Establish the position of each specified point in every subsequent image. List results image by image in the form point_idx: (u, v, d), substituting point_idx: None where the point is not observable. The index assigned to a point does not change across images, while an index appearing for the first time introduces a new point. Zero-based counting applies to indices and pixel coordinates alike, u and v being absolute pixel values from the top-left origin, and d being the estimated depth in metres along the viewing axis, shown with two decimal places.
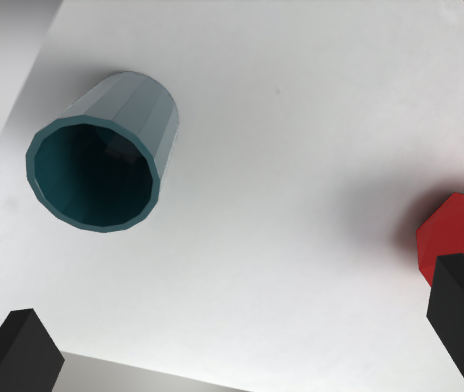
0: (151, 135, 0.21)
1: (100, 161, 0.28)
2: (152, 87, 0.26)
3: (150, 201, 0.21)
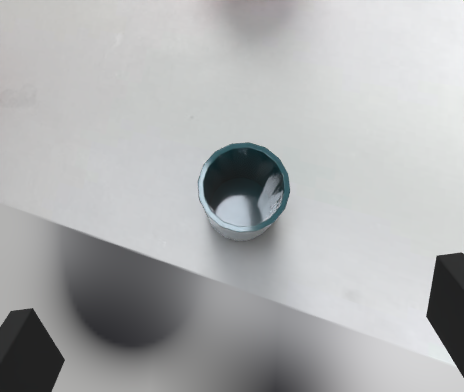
0: None
1: (270, 216, 0.36)
2: None
3: (249, 146, 0.29)
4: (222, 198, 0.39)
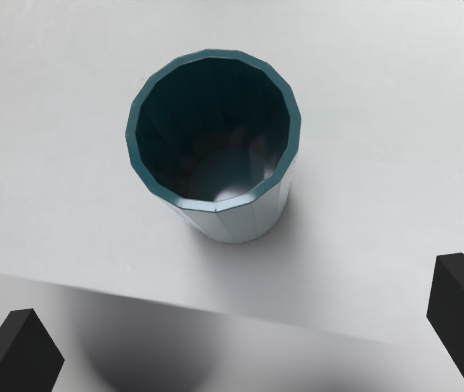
0: None
1: None
2: None
3: (210, 55, 0.16)
4: (203, 183, 0.25)
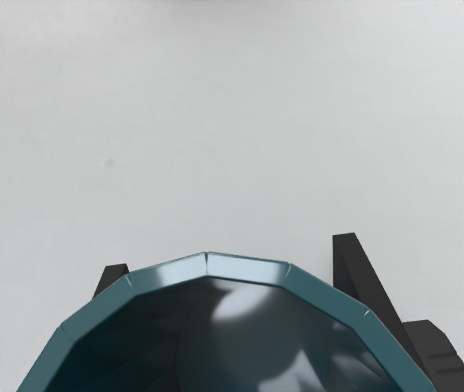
0: None
1: None
2: None
3: (213, 273, 0.06)
4: (201, 347, 0.16)
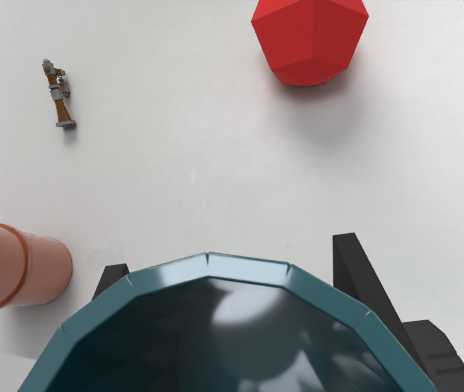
0: None
1: None
2: None
3: (214, 274, 0.06)
4: (201, 347, 0.16)
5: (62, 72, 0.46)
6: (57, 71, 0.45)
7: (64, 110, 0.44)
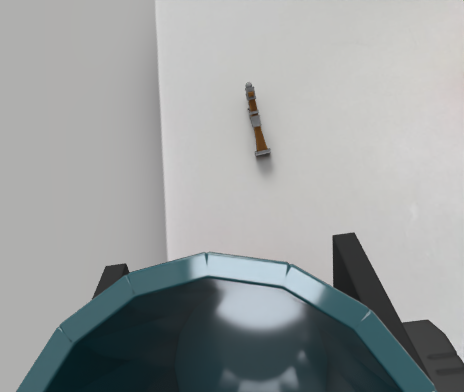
0: None
1: None
2: None
3: (213, 274, 0.06)
4: (201, 347, 0.16)
5: None
6: None
7: (263, 138, 0.41)
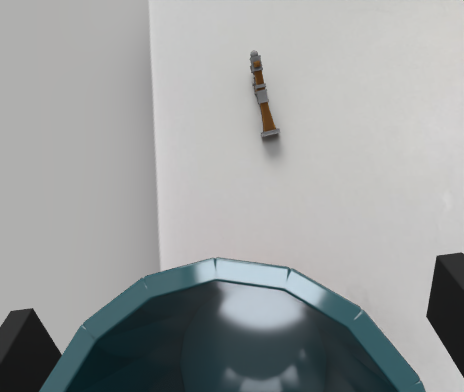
0: None
1: None
2: None
3: (221, 277, 0.07)
4: (205, 345, 0.16)
5: None
6: None
7: (271, 116, 0.35)
